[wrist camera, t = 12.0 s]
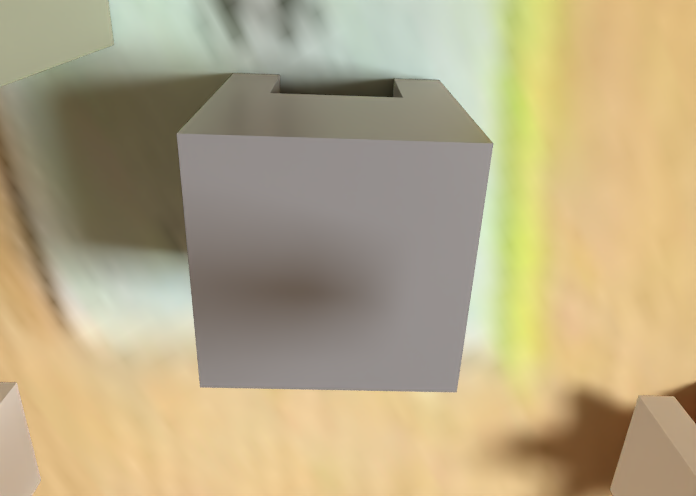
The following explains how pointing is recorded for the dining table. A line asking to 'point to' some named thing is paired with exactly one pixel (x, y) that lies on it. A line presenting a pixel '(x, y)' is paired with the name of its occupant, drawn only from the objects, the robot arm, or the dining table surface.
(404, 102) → the slate cover
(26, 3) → the olive cover
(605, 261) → the dining table surface
